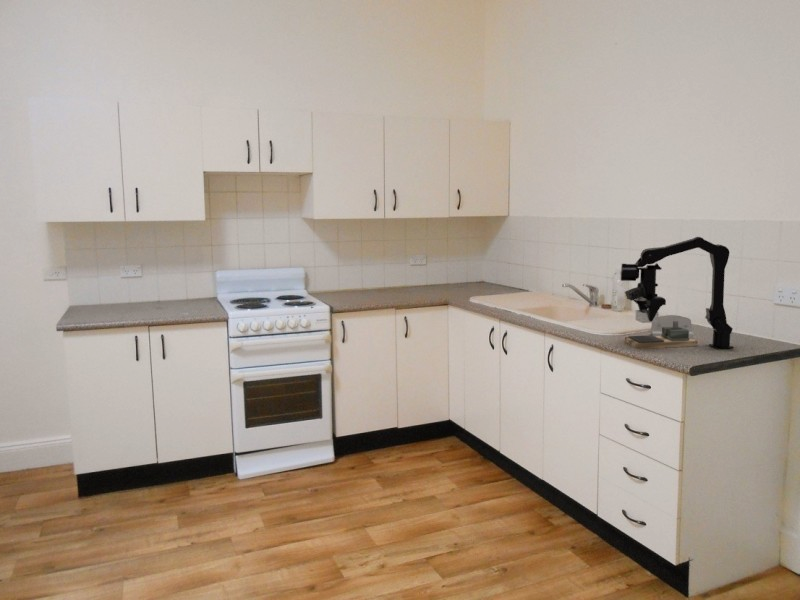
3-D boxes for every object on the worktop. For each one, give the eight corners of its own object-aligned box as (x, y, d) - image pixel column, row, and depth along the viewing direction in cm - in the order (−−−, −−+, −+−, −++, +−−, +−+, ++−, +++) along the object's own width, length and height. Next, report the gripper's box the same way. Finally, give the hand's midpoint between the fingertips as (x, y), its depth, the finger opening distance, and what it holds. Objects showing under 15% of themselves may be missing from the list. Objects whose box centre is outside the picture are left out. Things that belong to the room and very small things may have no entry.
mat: (664, 342, 251) (664, 340, 251) (639, 343, 250) (639, 341, 250) (652, 336, 261) (652, 335, 261) (628, 337, 260) (628, 336, 260)
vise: (697, 346, 251) (698, 323, 250) (637, 348, 250) (638, 326, 248) (680, 339, 263) (681, 317, 262) (624, 341, 262) (625, 320, 260)
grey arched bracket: (652, 337, 268) (651, 314, 270) (650, 338, 273) (649, 315, 275) (694, 338, 265) (693, 314, 266) (692, 339, 269) (691, 316, 271)
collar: (658, 322, 251) (658, 312, 251) (642, 322, 251) (642, 312, 250) (650, 319, 258) (651, 309, 257) (635, 319, 257) (635, 310, 257)
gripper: (618, 278, 260) (617, 316, 263) (638, 284, 242) (637, 325, 244) (644, 277, 261) (643, 315, 264) (667, 283, 243) (665, 323, 245)
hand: (646, 319), depth 254 cm, fingers closed on collar, 6 cm apart
